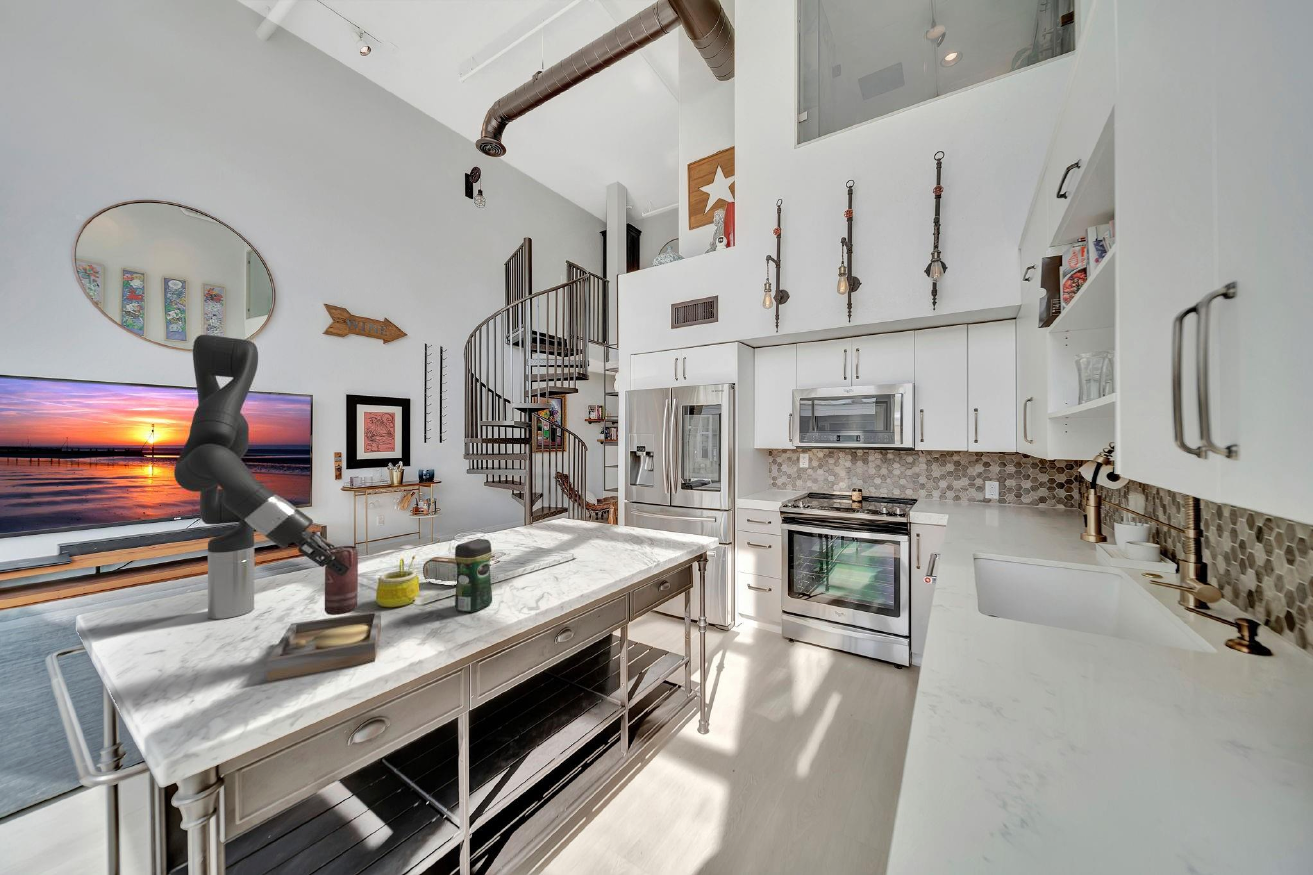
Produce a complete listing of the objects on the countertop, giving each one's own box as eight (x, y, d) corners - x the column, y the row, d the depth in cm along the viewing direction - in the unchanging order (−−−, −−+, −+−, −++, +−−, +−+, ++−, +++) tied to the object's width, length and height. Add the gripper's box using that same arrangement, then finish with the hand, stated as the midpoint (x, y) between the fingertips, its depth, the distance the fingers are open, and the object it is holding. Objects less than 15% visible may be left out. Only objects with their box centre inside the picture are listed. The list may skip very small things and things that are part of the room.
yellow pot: (396, 611, 127) (397, 567, 127) (366, 606, 131) (366, 563, 131) (433, 596, 139) (433, 556, 139) (404, 592, 143) (404, 552, 143)
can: (342, 616, 102) (343, 552, 102) (317, 614, 103) (318, 550, 103) (364, 606, 108) (365, 546, 108) (341, 604, 109) (341, 544, 109)
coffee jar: (474, 599, 137) (475, 535, 137) (496, 603, 134) (497, 538, 134) (448, 611, 128) (449, 542, 128) (471, 615, 125) (471, 545, 125)
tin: (468, 584, 150) (468, 558, 150) (462, 588, 147) (462, 561, 147) (427, 581, 154) (427, 555, 154) (420, 584, 151) (421, 558, 150)
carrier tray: (291, 640, 109) (291, 619, 109) (380, 626, 117) (381, 606, 117) (267, 681, 91) (266, 655, 91) (374, 661, 99) (375, 637, 99)
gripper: (291, 512, 95) (360, 562, 102) (298, 503, 107) (360, 549, 114) (257, 541, 92) (330, 591, 99) (268, 528, 105) (333, 574, 111)
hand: (345, 568), depth 106 cm, fingers closed on can, 6 cm apart
